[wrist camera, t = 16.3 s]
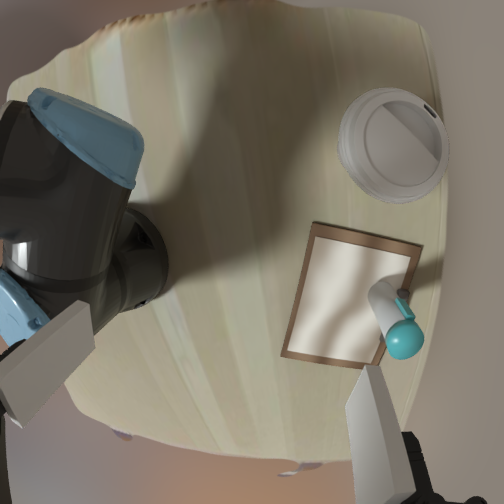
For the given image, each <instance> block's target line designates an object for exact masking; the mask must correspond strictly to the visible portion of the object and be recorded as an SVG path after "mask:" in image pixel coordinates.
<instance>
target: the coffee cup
mask: <svg viewBox="0 0 504 504" xmlns="http://www.w3.org/2000/svg"><path fill="white" fill-rule="evenodd" d="M337 152H338V157H339V160H340V162H341V164H342V165H343V167H344V168H345V169H346V170H347V172H348V173H349V175H350V177H351V178H352V179H353V181H354V182H355V183H356V184H357V185H358V186H359V187H360V188H361V189H362V190H363V191H364V192H366V193H367V194H369V195H370V196H372V197H374V198H376V199H378V200H381V201H384V202H387V203H394V204H403V203H409V202H413V201H416V200H418V199H421V198H422V197H424V196H426V195H427V194H429V193H430V192H431V191H432V190H433V189H434V188H435V187H436V186H437V185H438V183H439V182H440V180H441V179H442V177H443V175H444V172H445V170H446V167H447V164H448V160H449V140H448V135H447V132H446V129H445V127H444V124H443V122H442V120H441V119H440V117H439V116H438V114H437V113H436V112H435V111H434V109H433V108H432V107H431V106H430V105H429V104H427V103H426V102H425V101H424V100H423V99H421V98H420V97H418V96H416V95H415V94H413V93H411V92H408V91H406V90H402V89H398V88H388V87H385V88H377V89H373V90H370V91H367V92H365V93H363V94H362V95H360V96H359V97H357V98H356V99H355V100H354V101H353V102H352V103H351V104H350V106H349V107H348V108H347V110H346V112H345V113H344V116H343V118H342V121H341V124H340V129H339V141H338V145H337Z"/></svg>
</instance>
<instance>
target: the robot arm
mask: <svg viewBox="0 0 504 504" xmlns="http://www.w3.org/2000/svg"><path fill="white" fill-rule="evenodd" d="M27 101H28V103H27V102H21V101H15V100H9V101H8V102H7V103H5V104H4V105H3V106H1V107H0V240H3V263H2V265H1V266H0V335H1V336H2V337H3V339H4V340H5V342H6V343H7V344H8V345H9V348H8V350H6V351H4V352H3V353H2V355H0V504H12V500H11V494H10V487H9V479H8V470H7V459H6V442H5V418H4V416H3V415H4V413H5V412H7V413H8V415H9V417H10V419H11V420H12V421H13V422H14V423H16V424H17V425H18V426H20V427H21V428H22V429H23V428H24V427H25V426H26V425H27V424H28V422H29V421H30V420H31V419H32V418H33V417H34V415H35V414H36V413H37V412H38V411H39V409H40V408H41V407H42V406H43V405H44V404H45V403H46V401H47V400H48V399H49V398H50V397H51V396H52V395H53V394H54V392H55V391H56V390H57V389H58V388H59V387H60V386H61V385H62V384H63V383H64V381H65V380H66V379H67V378H68V377H69V376H70V375H71V374H72V373H73V372H74V370H75V369H76V368H77V367H78V366H79V365H80V364H81V363H82V362H83V361H84V360H85V359H86V358H87V356H88V355H89V354H90V353H91V352H92V351H93V350H94V349H95V342H94V335H95V334H96V333H98V332H99V331H100V330H101V329H102V328H103V327H104V326H105V325H106V324H107V323H108V322H109V321H110V320H112V319H113V318H114V317H115V316H116V315H117V314H118V313H122V312H125V311H129V310H133V309H137V308H140V307H142V306H144V305H146V304H147V303H149V302H150V301H151V300H152V299H153V298H154V297H155V296H156V295H157V294H158V293H159V292H160V291H161V289H162V288H163V286H164V284H165V282H166V278H167V274H168V256H167V251H166V248H165V245H164V242H163V240H162V238H161V236H160V234H159V232H158V231H157V229H156V228H155V227H154V225H153V224H152V223H151V222H150V221H149V220H148V219H147V218H146V217H144V216H143V215H142V214H140V213H138V212H137V211H135V210H132V209H129V208H126V206H127V203H128V200H129V197H130V194H131V191H132V189H134V187H135V185H136V181H135V178H136V175H137V172H138V168H139V165H140V162H141V158H142V155H143V152H144V140H143V137H142V135H141V133H140V132H139V131H138V130H137V129H136V128H135V127H133V126H132V125H130V124H129V123H127V122H125V121H123V120H122V119H120V118H118V117H116V116H114V115H112V114H110V113H108V112H106V111H104V110H101V109H99V108H97V107H95V106H93V105H90V104H88V103H86V102H83V101H81V100H78V99H76V98H73V97H71V96H68V95H65V94H61V93H58V92H55V91H53V90H50V89H46V88H37V89H35V90H34V91H33V92H32V94H31V95H29V96H28V99H27ZM345 410H346V417H347V424H348V432H349V440H350V448H351V456H352V465H353V475H354V485H355V496H356V504H487V502H486V501H485V500H484V499H483V498H481V497H479V496H474V497H471V498H469V499H468V500H467V501H466V502H464V503H456V502H447V501H445V500H444V498H443V497H442V496H441V495H439V494H437V493H434V491H433V489H432V485H431V482H430V478H429V475H428V470H427V467H426V464H425V461H424V457H423V453H421V451H422V450H421V447H420V444H419V441H418V439H417V438H416V437H415V435H414V434H413V433H412V432H401V430H400V427H399V423H398V420H397V416H396V413H395V410H394V407H393V404H392V400H391V397H390V394H389V391H388V388H387V385H386V382H385V379H384V376H383V373H382V370H381V367H380V366H374V365H365V366H364V368H363V370H362V372H361V374H360V376H359V379H358V381H357V383H356V385H355V387H354V389H353V391H352V393H351V395H350V397H349V399H348V401H347V403H346V405H345Z"/></svg>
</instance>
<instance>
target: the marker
mask: <svg viewBox="0 0 504 504" xmlns="http://www.w3.org/2000/svg"><path fill="white" fill-rule="evenodd" d="M368 301H369V303H370V305H371V308H372V310H373V312H374V314H375V317H376V319H377V322H378V324H379V326H380V329H381V331H382V334H383V336H384V338H385V343H386V346H387V349H388V351H389V354H390V355H391V356H392V357H393V358H395V359H399V360H403V359H407V358H410V357H412V356H414V355H415V354H416V353H417V352H418V351H419V350H420V349H421V347H422V345H423V343H424V334H423V332H422V331H421V329H420V327H419V326H418V324H417V323H416V322H415V321H414V319H415V315H414V313H413V312H412V310H411V309H410V307H409V306H408V304H407V303H406V301H405V300H404V299H401V298H399V296H398V295H397V293H396V292H395V290H394V289H393V287H392V286H391V285H390V284H389V283H387V282H378V283H376V284H374V285H373V286H372V287H371V288H370V289H369V292H368Z"/></svg>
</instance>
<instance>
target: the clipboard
mask: <svg viewBox="0 0 504 504" xmlns="http://www.w3.org/2000/svg"><path fill="white" fill-rule="evenodd" d="M420 251H421V247H420V246H416V245H411V244H407V243H403V242H399V241H395V240H391V239H386V238H382V237H378V236H373V235H369V234H365V233H360V232H356V231H351V230H347V229H342V228H337V227H333V226H328V225H323V224H318V223H314V222H312V226H311V231H310V235H309V240H308V245H307V249H306V254H305V258H304V263H303V267H302V271H301V276H300V280H299V284H298V288H297V293H296V297H295V301H294V305H293V309H292V313H291V317H290V321H289V325H288V329H287V333H286V336H285V340H284V344H283V348H282V351H281V356H280V357H285V358H290V359H296V360H301V361H307V362H313V363H319V364H326V365H333V366H339V367H347V368H354V369H362V370H363V368H364V366H365V365H374V366H377V365H378V363H379V361H380V358H381V356H382V354H383V352H384V350H385V347H386V343H385V338H384V336H383V334H382V331H381V329H380V326H379V324H378V322H377V319H376V317H375V314H374V312H373V310H372V308H371V305H370V303H369V301H368V292H369V289H370V288H371V287H372V286H373V285H374V284H376V283H378V282H387V283H389V284H390V285H391V286H392V287H393V289H394V290H395V292H396V293H397V295H398V296H399V298H401V299H404V300H405V301H406V302H407V299H408V297H409V294H410V292H409V291H408V289H409V286H410V283H411V280H412V277H413V274H414V271H415V268H416V265H417V261H418V258H419V255H420Z"/></svg>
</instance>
